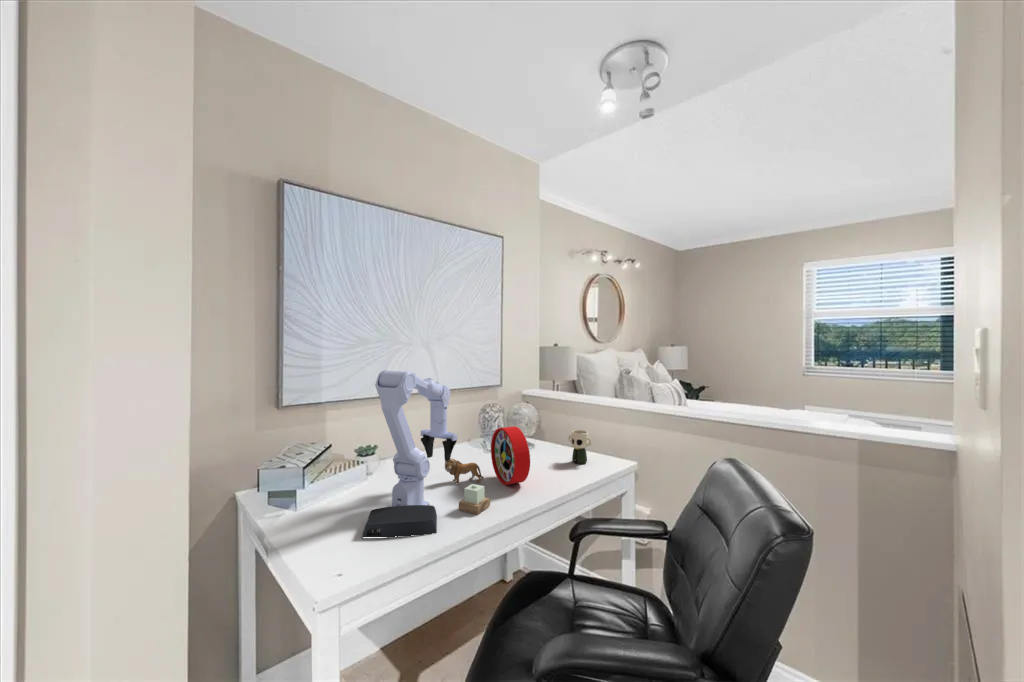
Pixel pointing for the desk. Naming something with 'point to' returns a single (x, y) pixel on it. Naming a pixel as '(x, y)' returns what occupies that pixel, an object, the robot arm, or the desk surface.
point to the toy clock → (510, 455)
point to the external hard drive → (401, 521)
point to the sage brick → (474, 494)
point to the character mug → (579, 445)
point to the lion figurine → (462, 469)
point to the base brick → (474, 506)
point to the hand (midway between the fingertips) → (438, 458)
